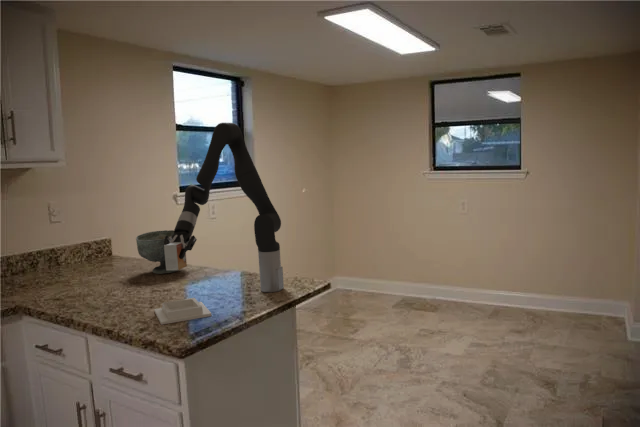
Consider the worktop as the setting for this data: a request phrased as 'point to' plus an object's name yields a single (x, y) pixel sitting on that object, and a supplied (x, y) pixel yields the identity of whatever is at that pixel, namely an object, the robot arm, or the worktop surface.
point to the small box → (174, 256)
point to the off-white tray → (181, 311)
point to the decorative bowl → (154, 248)
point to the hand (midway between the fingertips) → (173, 257)
